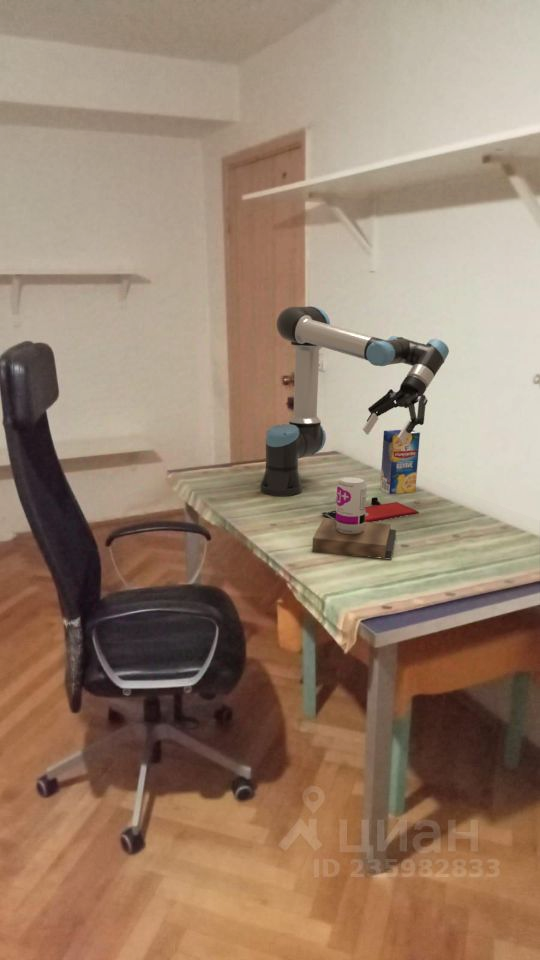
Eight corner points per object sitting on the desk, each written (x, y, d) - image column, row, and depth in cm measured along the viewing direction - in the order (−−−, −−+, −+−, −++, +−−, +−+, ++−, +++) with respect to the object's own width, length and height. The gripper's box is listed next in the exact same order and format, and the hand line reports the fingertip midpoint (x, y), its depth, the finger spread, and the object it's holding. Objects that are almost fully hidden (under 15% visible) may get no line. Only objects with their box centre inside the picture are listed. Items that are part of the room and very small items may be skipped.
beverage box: (415, 491, 245) (420, 432, 239) (389, 494, 241) (393, 434, 235) (405, 486, 251) (409, 429, 245) (379, 489, 247) (383, 430, 241)
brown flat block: (312, 551, 186) (312, 537, 184) (323, 530, 202) (323, 517, 201) (390, 559, 181) (391, 545, 180) (395, 537, 197) (396, 524, 196)
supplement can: (346, 536, 186) (348, 485, 182) (329, 527, 193) (332, 477, 189) (369, 532, 189) (372, 481, 185) (353, 524, 196) (355, 474, 192)
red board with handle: (317, 513, 218) (344, 528, 206) (318, 505, 217) (345, 519, 205) (389, 502, 233) (418, 515, 220) (389, 495, 232) (419, 507, 219)
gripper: (454, 395, 203) (420, 451, 197) (390, 385, 221) (356, 435, 215) (446, 379, 198) (410, 435, 193) (380, 370, 216) (346, 421, 210)
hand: (382, 435), depth 204 cm, fingers open, 13 cm apart
